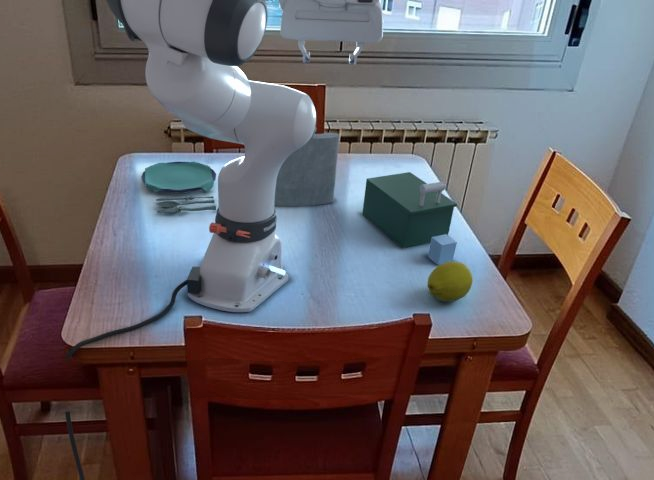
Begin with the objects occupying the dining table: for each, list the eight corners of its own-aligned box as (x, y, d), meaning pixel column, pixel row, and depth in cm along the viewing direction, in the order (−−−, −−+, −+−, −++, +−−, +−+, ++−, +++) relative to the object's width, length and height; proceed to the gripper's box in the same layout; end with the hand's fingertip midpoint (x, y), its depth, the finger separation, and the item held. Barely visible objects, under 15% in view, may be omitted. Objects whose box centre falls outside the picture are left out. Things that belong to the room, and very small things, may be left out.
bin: (447, 239, 147) (454, 205, 142) (402, 248, 142) (408, 213, 137) (404, 206, 160) (409, 174, 155) (362, 214, 156) (366, 181, 151)
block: (452, 261, 138) (457, 242, 135) (438, 265, 137) (442, 245, 134) (442, 253, 141) (446, 234, 138) (427, 256, 139) (431, 236, 137)
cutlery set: (213, 166, 176) (212, 158, 175) (224, 213, 153) (224, 204, 151) (141, 169, 173) (140, 161, 171) (141, 217, 149) (140, 208, 148)
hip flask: (331, 197, 163) (338, 122, 151) (335, 204, 160) (343, 127, 148) (272, 201, 159) (274, 124, 148) (275, 208, 156) (278, 130, 145)
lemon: (453, 283, 131) (461, 250, 126) (478, 302, 125) (487, 268, 120) (412, 294, 126) (418, 260, 122) (435, 314, 121) (443, 280, 116)
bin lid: (456, 206, 141) (461, 183, 138) (410, 215, 136) (414, 191, 133) (409, 174, 155) (413, 152, 152) (366, 181, 150) (368, 158, 147)
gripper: (278, -10, 115) (277, 65, 124) (388, -6, 115) (379, 70, 124) (280, -19, 120) (279, 55, 129) (386, -14, 119) (378, 59, 128)
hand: (329, 62), depth 126 cm, fingers open, 8 cm apart
